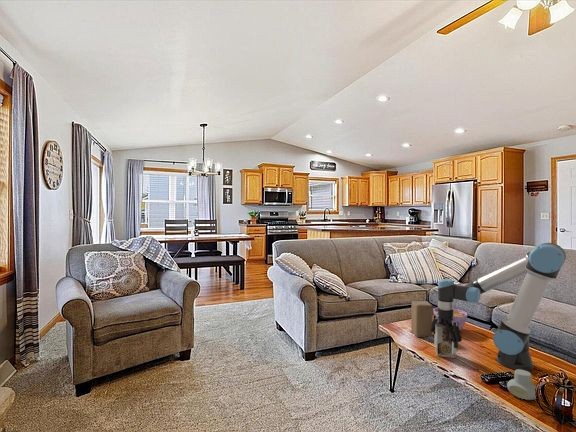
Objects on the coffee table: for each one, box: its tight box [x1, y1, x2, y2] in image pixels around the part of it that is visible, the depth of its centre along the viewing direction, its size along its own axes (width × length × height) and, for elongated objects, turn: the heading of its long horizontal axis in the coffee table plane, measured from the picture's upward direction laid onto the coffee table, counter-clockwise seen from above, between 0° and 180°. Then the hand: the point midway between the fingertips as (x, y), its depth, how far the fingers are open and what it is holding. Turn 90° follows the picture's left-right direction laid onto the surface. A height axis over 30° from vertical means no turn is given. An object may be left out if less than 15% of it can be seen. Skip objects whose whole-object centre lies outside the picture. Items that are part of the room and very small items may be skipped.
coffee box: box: [434, 323, 457, 359], centre depth 175 cm, size 9×6×16 cm
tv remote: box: [423, 336, 434, 344], centre depth 191 cm, size 16×4×2 cm, turn 43°
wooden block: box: [410, 300, 434, 338], centre depth 203 cm, size 10×10×20 cm
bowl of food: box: [433, 306, 468, 331], centre depth 213 cm, size 20×20×12 cm
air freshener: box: [506, 369, 537, 401], centre depth 137 cm, size 11×8×10 cm
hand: (445, 349), depth 175 cm, fingers closed on coffee box, 10 cm apart
